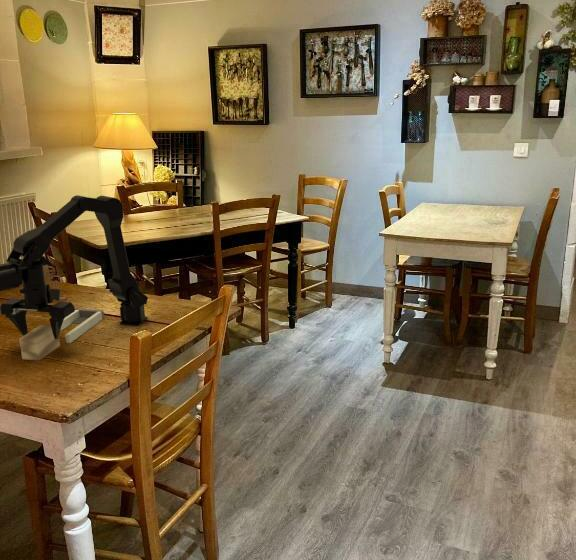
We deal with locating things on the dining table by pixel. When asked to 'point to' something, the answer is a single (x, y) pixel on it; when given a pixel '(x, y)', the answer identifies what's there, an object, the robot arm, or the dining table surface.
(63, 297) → the gingerbread man figurine
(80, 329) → the channel
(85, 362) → the dining table surface
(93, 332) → the dining table surface
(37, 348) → the birch block
